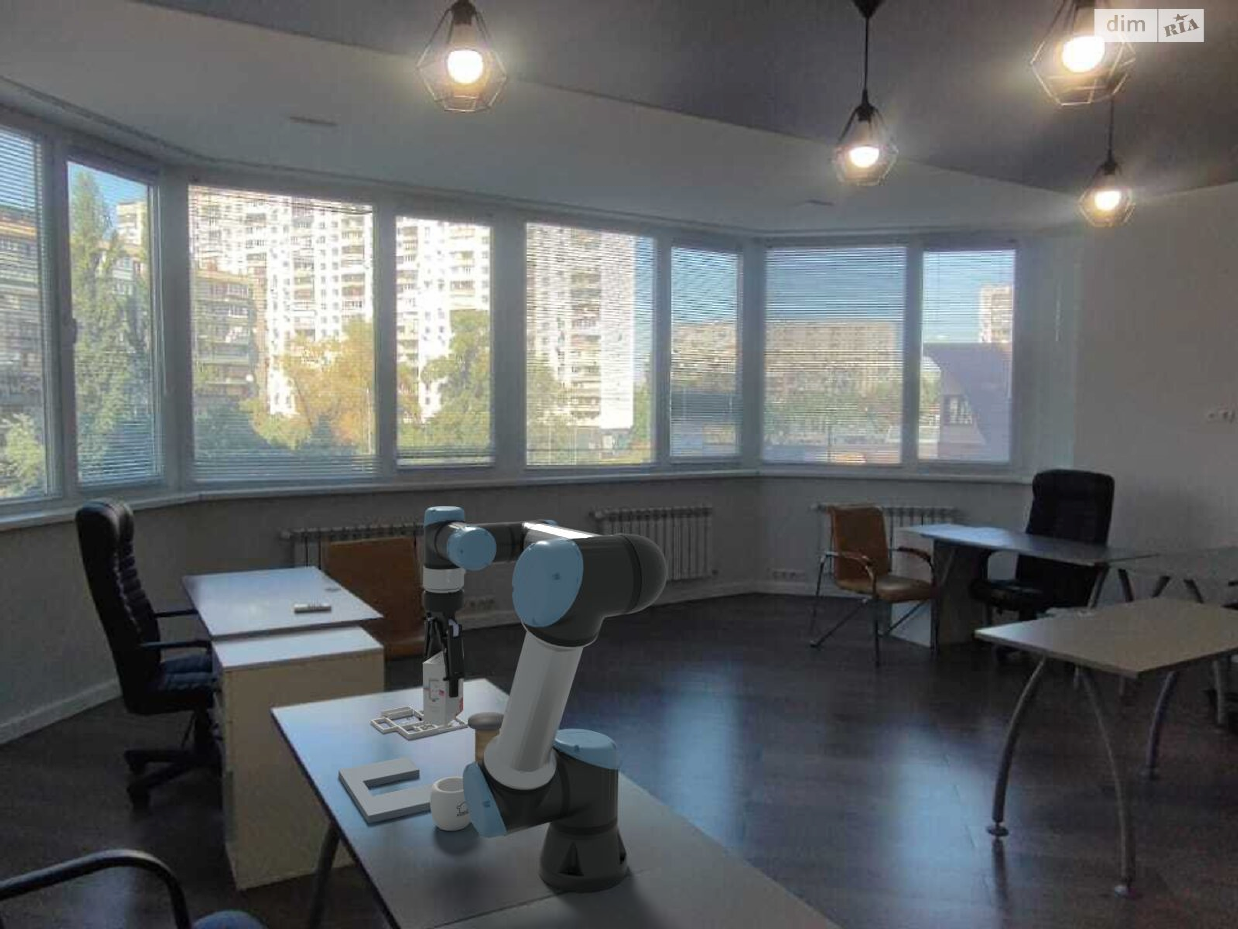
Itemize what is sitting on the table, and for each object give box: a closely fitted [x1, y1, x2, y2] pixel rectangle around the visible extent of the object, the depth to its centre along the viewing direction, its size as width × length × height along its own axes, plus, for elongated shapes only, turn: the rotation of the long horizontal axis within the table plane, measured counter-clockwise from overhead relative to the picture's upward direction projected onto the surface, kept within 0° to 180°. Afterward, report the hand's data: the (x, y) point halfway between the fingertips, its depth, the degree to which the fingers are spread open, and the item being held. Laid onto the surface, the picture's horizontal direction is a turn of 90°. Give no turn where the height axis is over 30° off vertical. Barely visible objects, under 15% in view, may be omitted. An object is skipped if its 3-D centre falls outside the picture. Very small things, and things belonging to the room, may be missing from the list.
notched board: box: [338, 756, 434, 824], centre depth 176 cm, size 24×15×2 cm, turn 31°
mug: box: [430, 776, 472, 832], centre depth 163 cm, size 12×8×8 cm
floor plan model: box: [370, 705, 469, 741], centre depth 213 cm, size 19×25×2 cm
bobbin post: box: [467, 711, 505, 762], centre depth 178 cm, size 10×10×14 cm
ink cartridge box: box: [422, 642, 465, 726], centre depth 164 cm, size 9×5×15 cm, turn 168°
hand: (442, 704), depth 164 cm, fingers closed on ink cartridge box, 9 cm apart
